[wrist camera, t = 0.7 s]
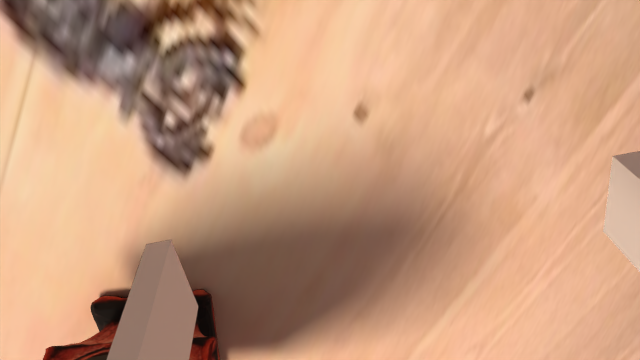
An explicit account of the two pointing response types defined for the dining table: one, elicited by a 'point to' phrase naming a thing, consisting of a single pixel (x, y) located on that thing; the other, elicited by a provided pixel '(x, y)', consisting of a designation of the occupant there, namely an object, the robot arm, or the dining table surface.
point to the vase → (108, 318)
